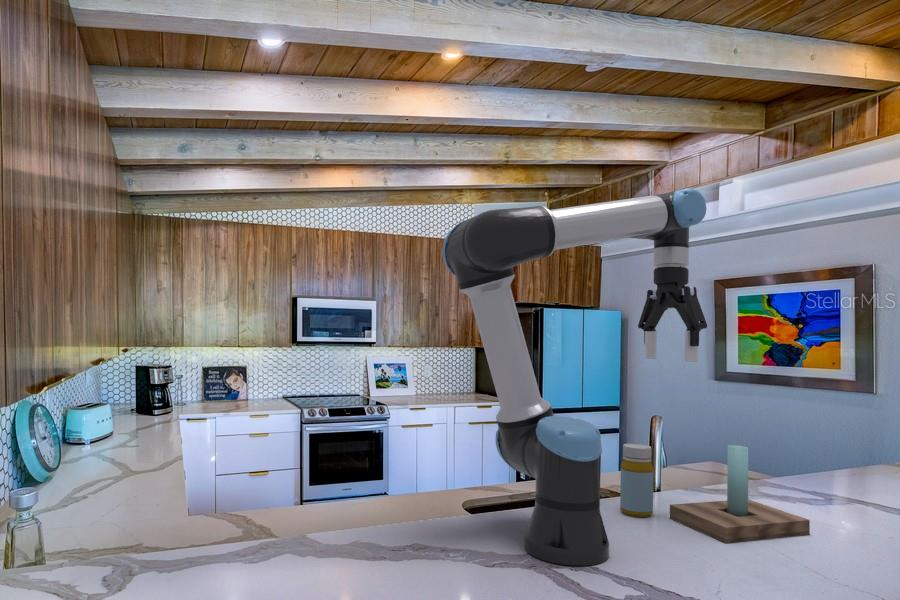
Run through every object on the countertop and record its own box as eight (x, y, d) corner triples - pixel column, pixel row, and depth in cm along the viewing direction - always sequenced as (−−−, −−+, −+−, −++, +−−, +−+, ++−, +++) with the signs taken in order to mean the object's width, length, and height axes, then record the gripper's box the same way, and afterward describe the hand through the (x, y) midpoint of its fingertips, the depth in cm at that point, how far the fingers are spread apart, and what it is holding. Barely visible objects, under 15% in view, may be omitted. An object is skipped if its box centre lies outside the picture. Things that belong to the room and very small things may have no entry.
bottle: (654, 519, 128) (655, 449, 129) (621, 516, 130) (622, 447, 131) (650, 510, 135) (651, 444, 136) (619, 507, 137) (620, 442, 138)
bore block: (725, 543, 114) (725, 527, 115) (669, 518, 130) (669, 504, 130) (809, 534, 122) (809, 520, 122) (747, 512, 137) (747, 499, 137)
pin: (737, 526, 123) (737, 448, 124) (722, 520, 127) (723, 445, 128) (752, 524, 124) (752, 448, 125) (737, 519, 128) (737, 444, 129)
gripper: (725, 262, 125) (724, 363, 123) (649, 273, 148) (648, 358, 147) (696, 260, 122) (695, 362, 121) (624, 271, 146) (622, 357, 144)
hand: (669, 360), depth 134 cm, fingers open, 13 cm apart
